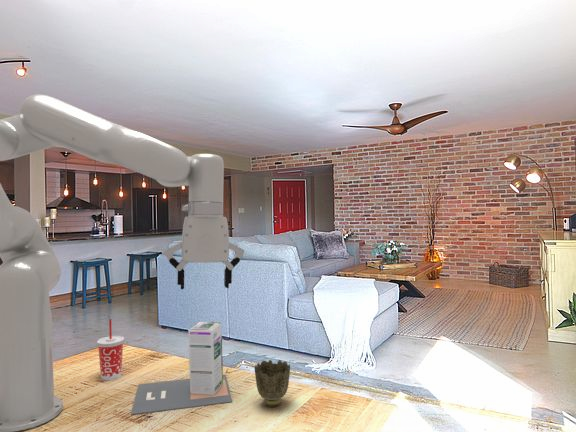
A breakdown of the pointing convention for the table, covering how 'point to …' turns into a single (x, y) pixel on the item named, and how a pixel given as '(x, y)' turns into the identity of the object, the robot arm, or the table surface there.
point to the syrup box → (205, 358)
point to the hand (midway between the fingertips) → (204, 287)
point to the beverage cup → (110, 355)
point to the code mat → (175, 396)
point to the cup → (272, 381)
